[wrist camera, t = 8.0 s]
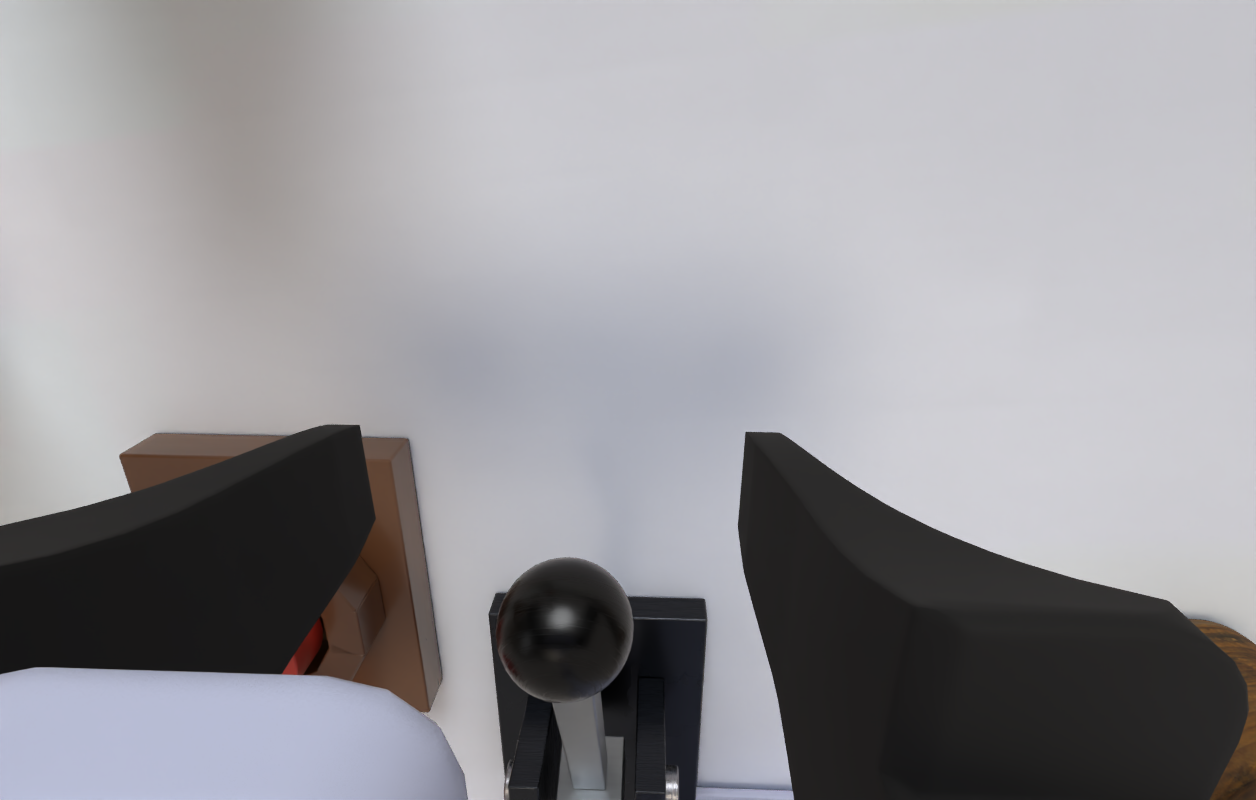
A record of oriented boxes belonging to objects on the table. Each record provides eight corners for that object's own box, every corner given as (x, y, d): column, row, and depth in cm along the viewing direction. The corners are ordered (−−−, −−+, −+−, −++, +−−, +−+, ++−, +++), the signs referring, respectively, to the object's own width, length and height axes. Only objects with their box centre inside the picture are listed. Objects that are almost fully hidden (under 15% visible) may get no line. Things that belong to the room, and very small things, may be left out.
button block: (443, 679, 26) (413, 755, 23) (228, 671, 26) (169, 746, 23) (409, 437, 22) (366, 488, 19) (154, 432, 22) (69, 482, 19)
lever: (499, 529, 14) (470, 665, 12) (635, 532, 14) (631, 670, 12) (558, 749, 24) (548, 843, 22) (636, 752, 24) (634, 846, 22)
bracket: (495, 592, 24) (450, 720, 19) (705, 597, 24) (720, 729, 19) (512, 775, 28) (479, 925, 23) (693, 781, 28) (703, 935, 22)
